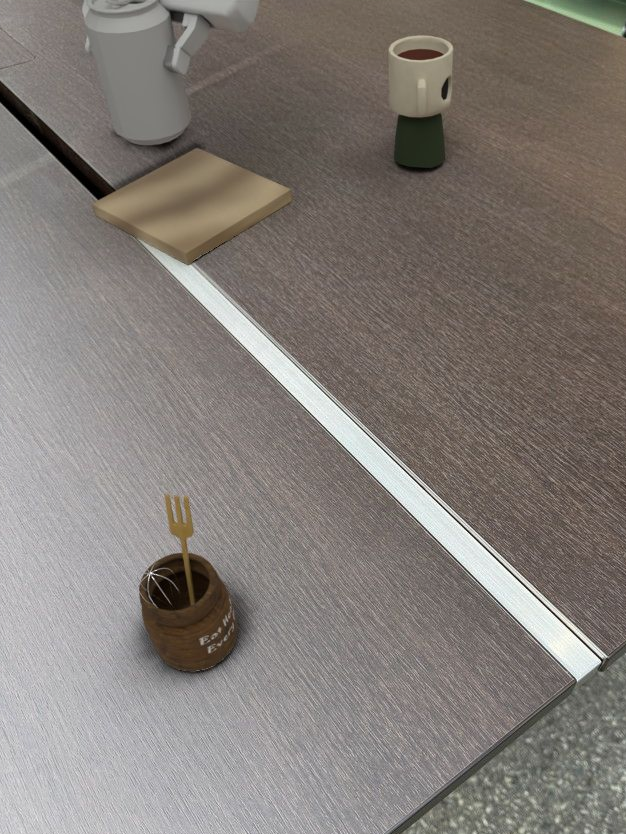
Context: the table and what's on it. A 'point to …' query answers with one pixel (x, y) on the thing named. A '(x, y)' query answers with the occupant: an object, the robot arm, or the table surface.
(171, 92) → the can
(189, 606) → the utensil holder
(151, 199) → the board
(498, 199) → the table surface
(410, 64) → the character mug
